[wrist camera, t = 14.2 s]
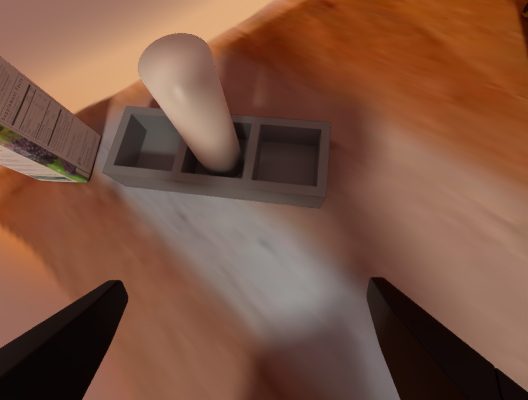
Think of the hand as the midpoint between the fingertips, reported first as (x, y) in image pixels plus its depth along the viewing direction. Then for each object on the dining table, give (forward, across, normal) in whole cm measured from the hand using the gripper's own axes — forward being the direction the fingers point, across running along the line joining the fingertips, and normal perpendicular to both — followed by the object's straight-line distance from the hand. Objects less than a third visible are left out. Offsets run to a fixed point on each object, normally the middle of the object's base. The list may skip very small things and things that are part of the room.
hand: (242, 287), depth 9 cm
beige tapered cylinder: (+17, +4, 0) cm, 17 cm away
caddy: (+17, +4, +1) cm, 18 cm away
